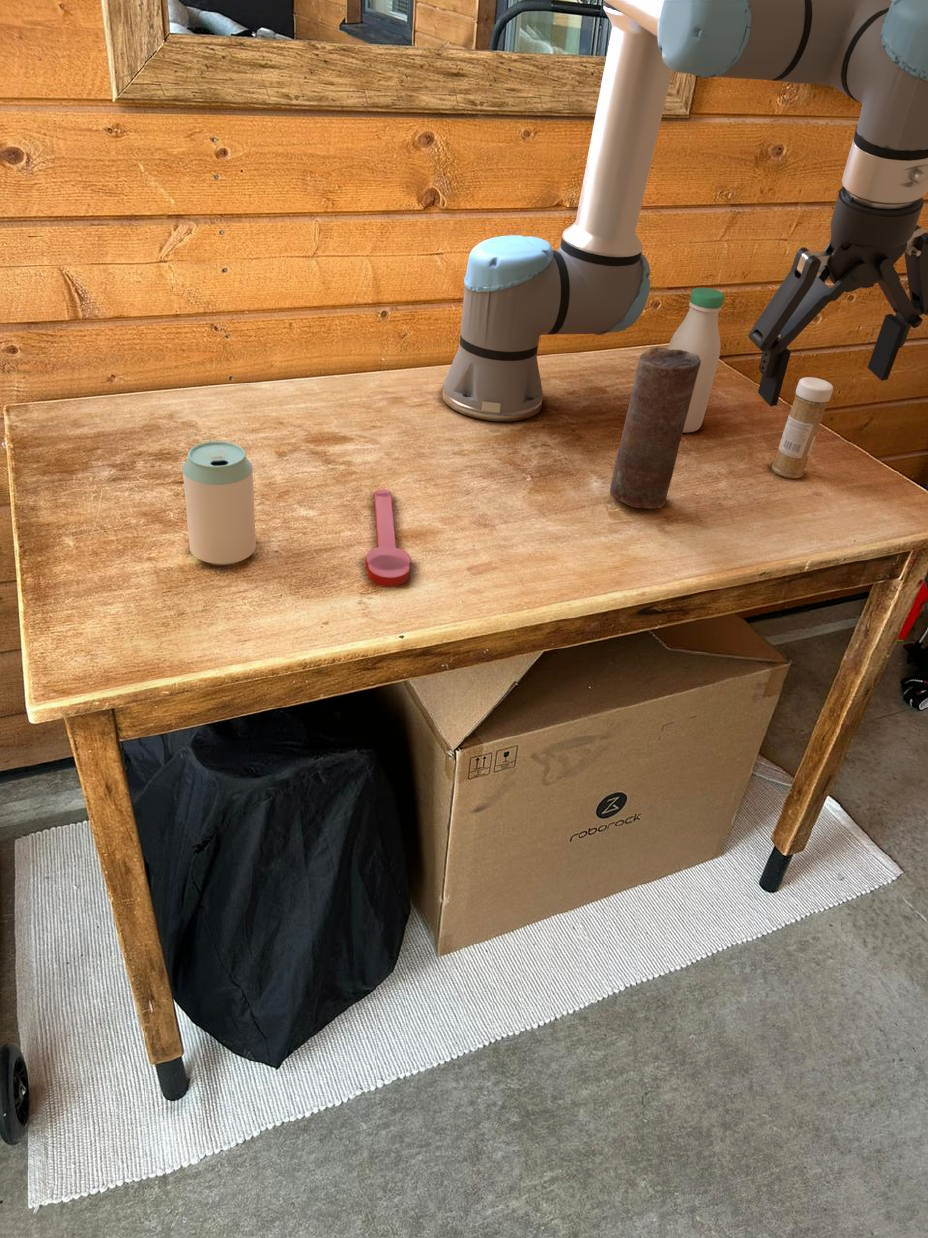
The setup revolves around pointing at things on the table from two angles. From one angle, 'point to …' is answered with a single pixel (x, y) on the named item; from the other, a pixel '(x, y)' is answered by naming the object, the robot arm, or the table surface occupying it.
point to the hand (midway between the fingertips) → (822, 386)
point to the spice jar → (802, 427)
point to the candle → (654, 426)
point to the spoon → (386, 547)
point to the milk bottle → (700, 348)
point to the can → (219, 503)
